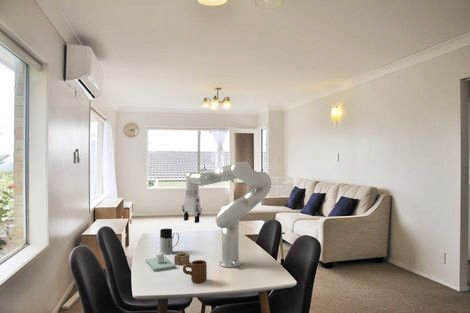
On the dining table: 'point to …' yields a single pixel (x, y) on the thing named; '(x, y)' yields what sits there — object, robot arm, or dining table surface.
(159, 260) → the white plaster cube
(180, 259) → the walnut collar
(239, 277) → the dining table surface
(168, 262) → the base board
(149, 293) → the dining table surface
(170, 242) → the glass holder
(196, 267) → the mug
